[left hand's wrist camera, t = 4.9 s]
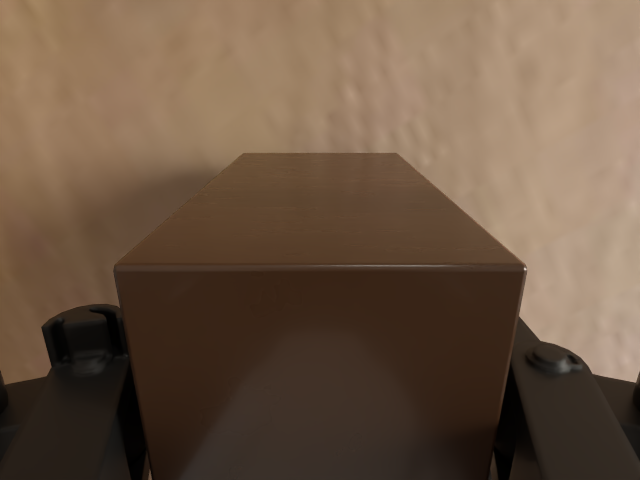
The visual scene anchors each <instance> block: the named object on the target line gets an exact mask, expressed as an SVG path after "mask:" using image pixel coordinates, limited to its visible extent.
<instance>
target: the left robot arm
mask: <svg viewBox="0 0 640 480" xmlns="http://www.w3.org/2000/svg"><path fill="white" fill-rule="evenodd" d="M41 328H42V332H43V336H44V339H45V343H46V347H47V351H48V355H49V358H50V362H51V366H52V368H51V369H50V371H49V373H48V375H47V376H46V377H42V378H37V379H32V380H27V381H22V382H17V383H11V384H6V385H5V383H4V380H3V377H2V374H1V371H0V480H148V477H149V470H150V465H149V460H148V454H147V449H146V444H145V438H144V433H143V428H142V422H141V417H140V411H139V406H138V401H137V395H136V390H135V384H134V379H133V374H132V368H131V363H130V357H129V352H128V347H127V341H126V336H125V331H124V325H123V320H122V314H121V309H120V308H119V307H117V306H114V305H109V304H92V305H87V306H81V307H77V308H74V309H71V310H68V311H65V312H62V313H60V314H58V315H57V316H55V317H53V318H51V319H49V320H48V321H47V322H46V323H45V324H44V325H43V326H42V327H41ZM488 480H640V372H639V375H638V378H637V382H636V383H634V382H629V381H624V380H618V379H613V378H608V377H603V376H598V375H594V374H592V372H591V371H590V369H589V367H588V366H587V364H586V363H585V362H584V361H583V360H582V359H581V358H580V357H579V356H577V355H576V354H574V353H573V352H571V351H570V350H567V349H565V348H563V347H560V346H558V345H555V344H551V343H547V342H542V341H540V340H539V339H538V338H537V337H536V335H535V334H534V333H533V332H532V331H531V330H530V328H529V327H528V326H527V325H526V324H525V323H524V322H523V320H522V319H521V318H520V317H518V322H517V328H516V333H515V338H514V344H513V349H512V355H511V360H510V365H509V371H508V376H507V381H506V387H505V392H504V397H503V403H502V408H501V414H500V419H499V424H498V430H497V435H496V440H495V446H494V451H493V456H492V462H491V467H490V473H489V478H488Z"/></svg>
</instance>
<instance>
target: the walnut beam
mask: <svg viewBox="0 0 640 480" xmlns="http://www.w3.org/2000/svg"><path fill="white" fill-rule="evenodd" d="M526 274H527V268H526V265H525V264H524V263H523V262H522V261H521V260H520V259H518V258H517V257H516V256H515V255H514V254H513V253H512V252H510V251H509V250H508V249H507V248H506V247H505V246H503V245H502V244H501V243H500V242H499V241H498V240H497V239H495V238H494V237H493V236H492V235H491V234H490V233H488V232H487V231H486V230H485V229H484V228H483V227H482V226H480V225H479V224H478V223H477V222H476V221H475V220H473V219H472V218H471V217H470V216H469V215H468V214H467V213H465V212H464V211H463V210H462V209H461V208H460V207H458V206H457V205H456V204H455V203H454V202H453V201H452V200H450V199H449V198H448V197H447V196H446V195H445V194H443V193H442V192H441V191H440V190H439V189H438V188H437V187H435V186H434V185H433V184H432V183H431V182H430V181H428V180H427V179H426V178H425V177H424V176H423V175H421V174H420V173H419V172H418V171H417V170H416V169H415V168H413V167H412V166H411V165H410V164H409V163H408V162H406V161H405V160H404V159H403V158H402V157H401V156H400V155H398V154H397V153H243V154H242V155H241V156H239V157H238V158H237V159H236V160H235V161H234V162H233V163H231V164H230V165H229V166H228V167H227V168H226V169H224V170H223V171H222V172H221V173H220V174H219V175H218V176H216V177H215V178H214V179H213V180H212V181H211V182H210V183H208V184H207V185H206V186H205V187H204V188H203V189H201V190H200V191H199V192H198V193H197V194H196V195H195V196H193V197H192V198H191V199H190V200H189V201H188V202H186V203H185V204H184V205H183V206H182V207H181V208H180V209H178V210H177V211H176V212H175V213H174V214H173V215H171V216H170V217H169V218H168V219H167V220H166V221H165V222H163V223H162V224H161V225H160V226H159V227H158V228H157V229H155V230H154V231H153V232H152V233H151V234H150V235H148V236H147V237H146V238H145V239H144V240H143V241H142V242H140V243H139V244H138V245H137V246H136V247H135V248H133V249H132V250H131V251H130V252H129V253H128V254H127V255H125V256H124V257H123V258H122V259H121V260H120V261H119V262H117V263H116V264H115V266H114V277H115V282H116V287H117V293H118V298H119V304H120V309H121V314H122V320H123V325H124V331H125V336H126V341H127V347H128V352H129V357H130V363H131V368H132V374H133V379H134V384H135V390H136V395H137V401H138V406H139V411H140V417H141V422H142V428H143V433H144V438H145V444H146V449H147V454H148V460H149V465H150V471H151V476H152V480H488V478H489V473H490V467H491V462H492V456H493V451H494V446H495V440H496V435H497V430H498V424H499V419H500V414H501V408H502V403H503V397H504V392H505V387H506V381H507V376H508V371H509V365H510V360H511V355H512V349H513V344H514V338H515V333H516V328H517V322H518V317H519V312H520V306H521V301H522V296H523V290H524V285H525V280H526Z"/></svg>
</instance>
